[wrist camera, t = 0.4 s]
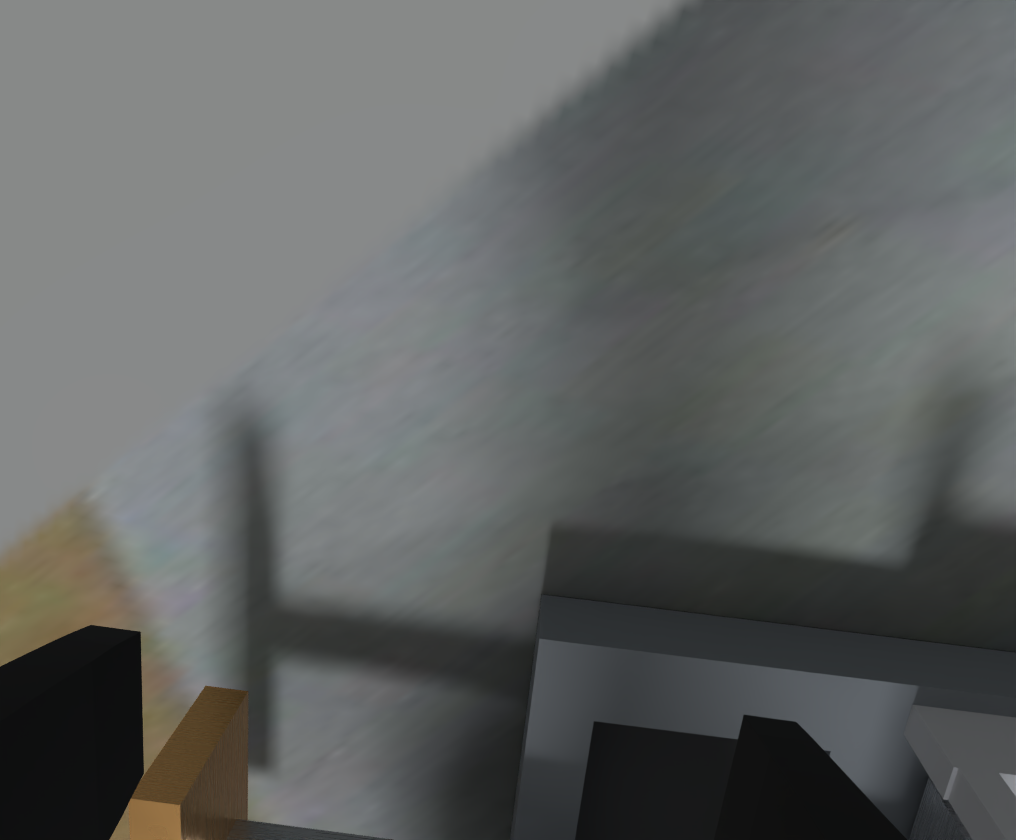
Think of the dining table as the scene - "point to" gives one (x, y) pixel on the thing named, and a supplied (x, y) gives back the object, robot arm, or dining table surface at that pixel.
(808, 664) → the tunnel deck
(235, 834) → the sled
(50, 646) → the robot arm
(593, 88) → the dining table surface
